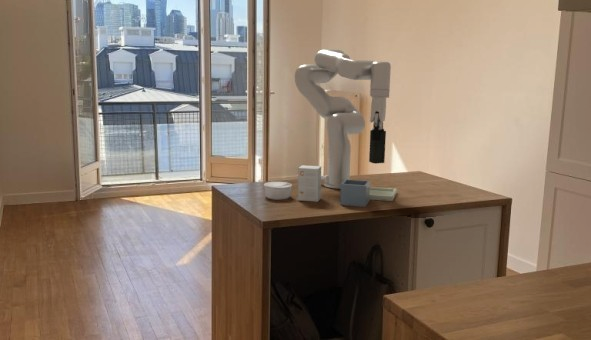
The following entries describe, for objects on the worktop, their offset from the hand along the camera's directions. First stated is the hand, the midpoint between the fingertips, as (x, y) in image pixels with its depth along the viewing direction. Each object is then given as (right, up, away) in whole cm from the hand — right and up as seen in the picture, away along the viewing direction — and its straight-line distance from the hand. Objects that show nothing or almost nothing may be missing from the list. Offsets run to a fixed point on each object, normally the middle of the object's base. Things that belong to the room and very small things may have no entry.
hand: (377, 138), depth 239 cm
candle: (0, -10, +2) cm, 10 cm away
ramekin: (-40, -24, 0) cm, 46 cm away
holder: (-10, -25, -8) cm, 28 cm away
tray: (0, -23, +4) cm, 23 cm away
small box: (-27, -24, -4) cm, 37 cm away
